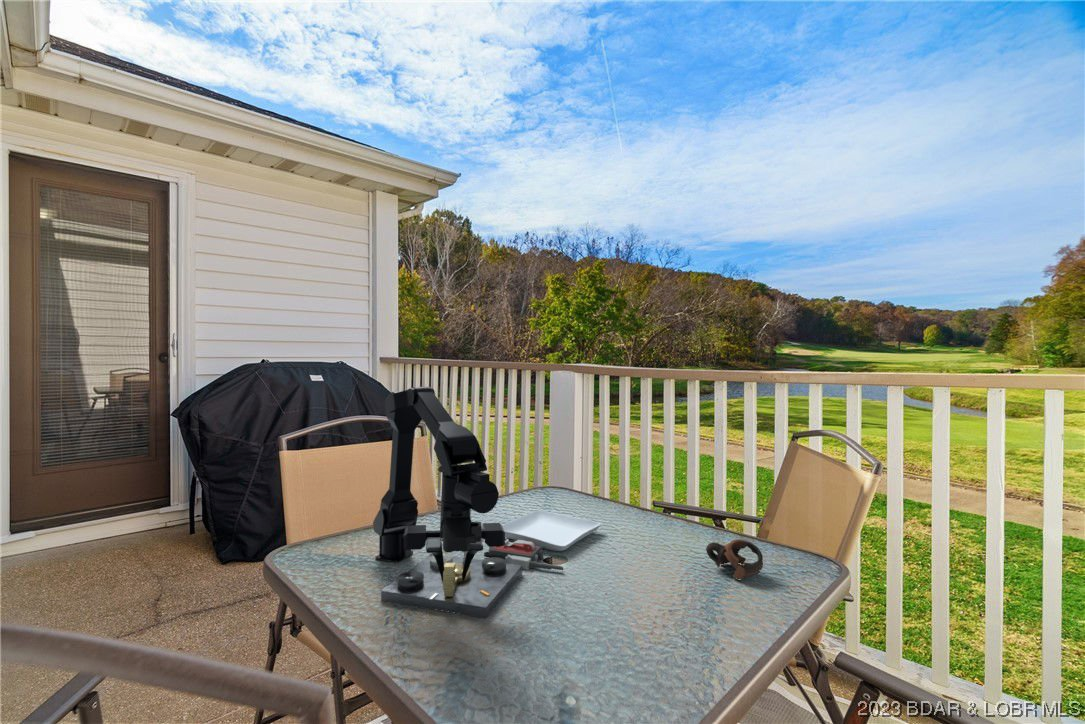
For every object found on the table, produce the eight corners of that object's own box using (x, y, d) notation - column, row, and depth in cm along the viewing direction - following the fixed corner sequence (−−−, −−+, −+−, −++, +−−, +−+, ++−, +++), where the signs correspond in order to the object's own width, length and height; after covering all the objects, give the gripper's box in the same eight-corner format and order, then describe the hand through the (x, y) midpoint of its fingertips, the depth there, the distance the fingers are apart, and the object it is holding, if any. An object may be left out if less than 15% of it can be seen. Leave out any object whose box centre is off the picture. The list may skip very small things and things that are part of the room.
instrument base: (379, 601, 100) (379, 576, 100) (432, 561, 120) (432, 540, 120) (484, 619, 94) (484, 592, 94) (521, 574, 113) (522, 551, 113)
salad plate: (603, 534, 141) (603, 521, 141) (564, 559, 123) (564, 545, 123) (537, 520, 152) (537, 508, 152) (493, 541, 134) (493, 528, 134)
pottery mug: (755, 567, 120) (767, 543, 116) (754, 600, 112) (766, 576, 108) (703, 548, 123) (712, 524, 119) (698, 579, 116) (708, 555, 111)
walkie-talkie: (479, 563, 120) (561, 577, 114) (479, 544, 120) (561, 557, 113) (495, 550, 128) (572, 562, 122) (495, 532, 128) (572, 543, 122)
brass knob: (443, 570, 110) (444, 543, 110) (472, 570, 110) (472, 544, 110) (432, 596, 98) (432, 566, 98) (464, 596, 98) (464, 567, 98)
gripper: (403, 513, 89) (400, 603, 90) (511, 511, 93) (507, 597, 93) (406, 495, 100) (403, 575, 100) (502, 493, 104) (499, 570, 104)
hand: (453, 580), depth 99 cm, fingers open, 3 cm apart
